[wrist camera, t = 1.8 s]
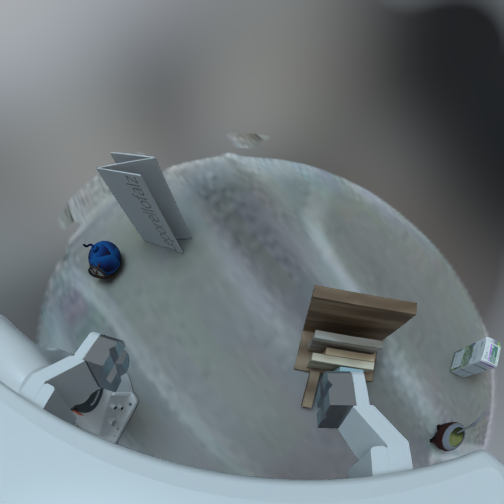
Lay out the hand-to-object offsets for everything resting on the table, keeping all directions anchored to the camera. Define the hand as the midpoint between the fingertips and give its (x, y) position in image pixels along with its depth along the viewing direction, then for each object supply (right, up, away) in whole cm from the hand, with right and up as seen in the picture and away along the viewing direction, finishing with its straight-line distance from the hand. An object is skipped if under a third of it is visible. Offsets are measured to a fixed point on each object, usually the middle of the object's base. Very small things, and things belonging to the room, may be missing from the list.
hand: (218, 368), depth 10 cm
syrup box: (+53, -24, +42) cm, 72 cm away
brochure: (-23, +8, +69) cm, 73 cm away
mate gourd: (+46, -39, +34) cm, 69 cm away
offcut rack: (+20, -22, +47) cm, 55 cm away
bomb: (-40, 0, +66) cm, 77 cm away
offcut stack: (+19, -19, +47) cm, 54 cm away
